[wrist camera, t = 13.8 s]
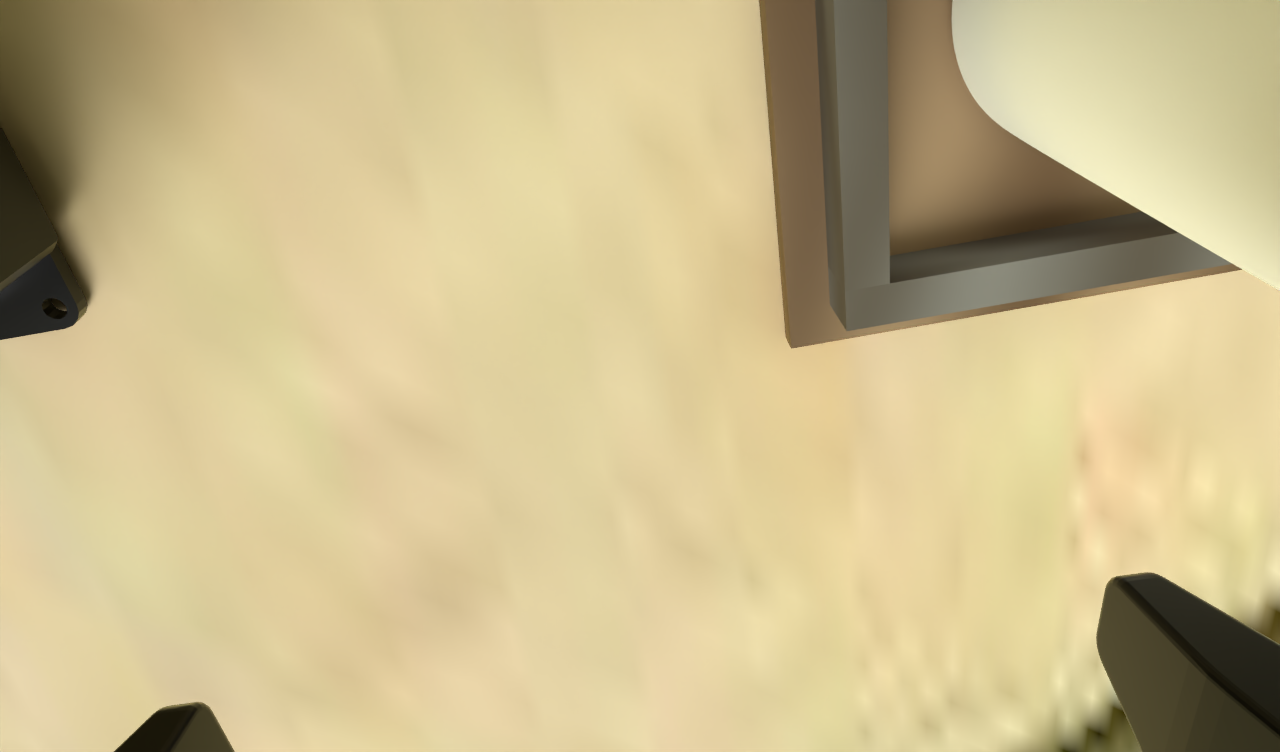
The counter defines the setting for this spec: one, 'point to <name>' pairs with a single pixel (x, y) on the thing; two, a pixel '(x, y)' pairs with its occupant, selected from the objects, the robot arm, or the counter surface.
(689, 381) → the counter surface
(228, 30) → the counter surface
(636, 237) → the counter surface
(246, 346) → the counter surface
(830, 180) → the holder
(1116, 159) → the can
